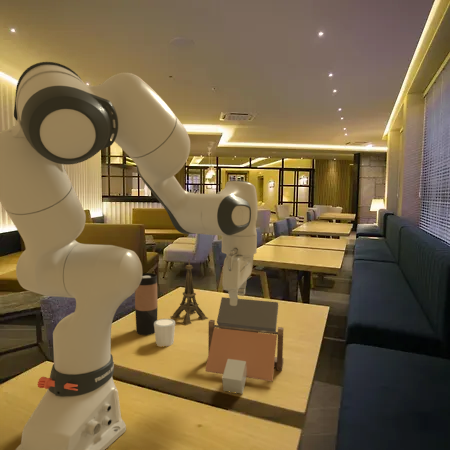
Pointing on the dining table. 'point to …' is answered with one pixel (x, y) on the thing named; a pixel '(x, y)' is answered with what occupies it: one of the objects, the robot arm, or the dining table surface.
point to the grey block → (234, 376)
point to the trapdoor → (245, 338)
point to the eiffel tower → (189, 300)
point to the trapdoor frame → (279, 358)
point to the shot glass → (164, 332)
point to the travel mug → (146, 304)
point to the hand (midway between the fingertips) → (237, 299)
